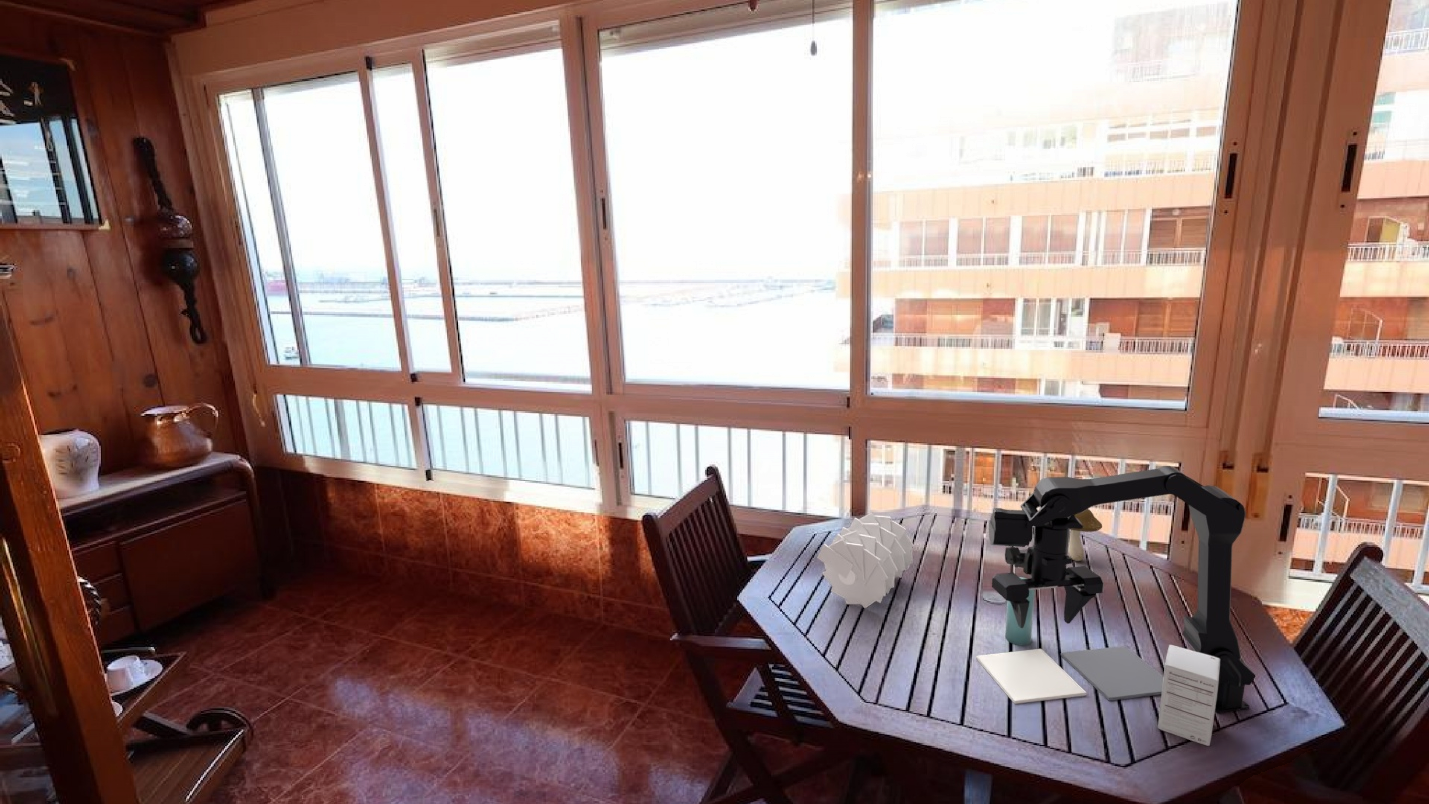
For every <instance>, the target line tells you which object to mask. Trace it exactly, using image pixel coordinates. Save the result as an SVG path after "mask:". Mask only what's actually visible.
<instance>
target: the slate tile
mask: <svg viewBox="0 0 1429 804" xmlns="http://www.w3.org/2000/svg"><path fill="white" fill-rule="evenodd" d="M1060 656H1061V658H1063V659H1064V661H1066V662H1067V663H1068V664H1069V665H1070V666H1071V667H1072V668H1074V669H1075V670H1076V671H1077V672H1078V674H1079V675H1081V676H1082V677H1083V678H1084V679H1085V680H1086V681H1087V682H1088V683H1090V684H1091V685H1092V686H1093V687H1094V688H1095V689H1096V691H1098V692H1099V693H1100V694H1102V696H1103V697H1104V698H1105V699H1107V700H1108V701H1115V700H1125V699H1126V700H1127V699H1132V698H1133V699H1134V698H1141V697H1149V696H1150V697H1151V696H1158V695H1162V686H1163V678H1164V675H1162V674H1161V673H1160V672H1159V671H1158V670H1156V669H1155V668H1154V667H1152V666H1151V665H1150V664H1149V663H1147V662H1146V660H1144V659H1142V657H1140V656H1138V655H1137V654H1136V653H1135V652H1134V651H1133V650H1131V649H1130V648H1129V647H1127V646H1126V645H1121V646H1120V645H1119V646H1113V647H1111V646H1110V647H1104V648H1103V647H1101V648H1094V649H1092V648H1091V649H1085V650H1084V649H1083V650H1075V651H1065V652H1061V653H1060Z"/></svg>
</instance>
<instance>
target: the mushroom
mask: <svg viewBox="0 0 1429 804" xmlns="http://www.w3.org/2000/svg"><path fill="white" fill-rule="evenodd" d="M1075 517H1076V518H1078V520H1079V521H1080V522H1081V524H1082V525H1083V529H1071V528H1070V533H1069V544H1068V556H1069V557H1071V558H1072V561H1075V562H1080V561H1083V559H1084V557H1085V552H1084V547H1083V544H1082V543H1083V542H1082V539H1081V532H1083V533H1084V532H1085V533H1093V532H1098V531H1100V530H1101V529H1102V528H1103V523H1102V522H1101V521H1099V519H1097V518H1096V516H1095V515H1094V513H1093V511H1092V510H1090V508H1089V509H1087V510H1085V511H1084V512H1082V513H1079V514H1076V515H1075Z"/></svg>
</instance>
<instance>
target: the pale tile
mask: <svg viewBox="0 0 1429 804" xmlns="http://www.w3.org/2000/svg"><path fill="white" fill-rule="evenodd" d="M975 659H976V661H978V662H979V664H980V665H981V666H982V667H983V668H984V670H985V671H987V673H988V674H989V675H990V676H991V678H992V679H993V681H995V683H996V684H997V685H998V686H999V687H1000V689H1002V691H1003V692H1004V693H1005V694H1006V695H1007V697H1008V698H1009V699H1010V700H1011V702H1012V703H1013V704H1024V703H1025V704H1026V703H1033V702H1042V701H1048V700H1049V701H1050V700H1057V699H1066V698H1074V697H1084V696H1087V691H1086V690H1084V689H1083V688H1082V687H1081V686H1080V685H1079V684H1078V683H1077V681H1076V680H1074V679H1073V678H1072V677H1071V676H1070V675H1069V674H1068V673H1067V672H1066V671H1065V670H1064V669H1063V668H1062V667H1061V666H1060V665H1059V664H1057V662H1056V661H1054V659H1053V658H1052V657H1050V656H1049V654H1047V653H1046V652H1045V651H1044V650H1043V649H1042V648H1037V649H1036V648H1035V649H1027V650H1018V651H1016V650H1015V651H1010V652H1001V653H998V652H997V653H992V654H990V653H989V654H982V655H981V654H980V655H976V656H975Z"/></svg>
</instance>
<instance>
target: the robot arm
mask: <svg viewBox="0 0 1429 804" xmlns="http://www.w3.org/2000/svg"><path fill="white" fill-rule="evenodd" d="M1167 495H1173V496H1174V497H1176V498H1178V499H1179V500H1181V501H1182V502H1184V503H1185V504H1187V505H1188V509H1189V513H1190V517H1191V521H1192V523H1193V526H1194V528H1195V531H1196V533H1197V536H1198V559H1197V560H1198V561H1197V564H1198V565H1197V566H1198V567H1197V568H1198V569H1197V607H1196V608H1197V609H1196V611H1195V613H1194V614H1193V615H1192V617H1191V616H1187V615H1185V616H1183V617H1182V620H1183V625H1184V628H1183V632H1182V636H1183V637H1184V639H1185V640H1186V641H1187V643H1188V645H1189V646H1190V647H1191V648H1192V650H1193V651H1196V652H1199V653H1203V654H1207V655H1210V656H1214V657H1217V658H1219V659H1220V669H1219V681H1218V691H1217V699H1216V706H1215V712H1216V713H1226V712H1228V713H1229V712H1235V711H1243V710H1250V705H1249V704H1248V703H1247V702H1245V701H1244V696H1245V695H1244V694H1245V689H1246V688H1245V687H1246V686H1250V685H1251V684H1252V683H1253V682H1254V680H1255V678H1256V674H1255V673H1254V672H1253V671H1252V669H1251V668H1249V666H1248V665H1247V664H1246V663H1245V662H1244V660H1242V655H1241V650H1240V649H1241V648H1240V645H1239V640H1238V637H1237V635H1236V632H1235V629H1234V627H1233V624H1232V621H1231V606H1232V605H1231V603H1232V601H1231V600H1232V597H1231V596H1232V570H1233V569H1232V568H1233V567H1232V565H1233V564H1232V562H1233V559H1232V558H1233V544H1234V543H1235V542H1236V540H1237V539H1238V538H1239V536H1240V535H1241V533H1242V531H1243V528H1244V523H1245V521H1246V520H1245V519H1246V516H1247V515H1246V508H1245V506H1244V505H1243V504H1242V503H1241V502H1240V501H1239V500H1238V499H1236V498H1235V497H1233V496H1231V495H1230V494H1228V493H1227V492H1226V491H1224V490H1223V489H1221V488H1220V487H1218V486H1216V485H1210V484H1209V485H1203V484H1201V483H1200V482H1198V481H1196V480H1195V479H1193V478H1191V477H1189V476H1188V475H1186V474H1184V473H1183V472H1181V471H1180V470H1179V469H1177V468H1176V467H1174V466H1171V465H1163V466H1160V467H1158V468H1153V469H1146V470H1140V471H1134V472H1127V473H1120V474H1119V473H1118V474H1114V475H1107V476H1100V477H1095V478H1093V477H1092V478H1077V477H1070V476H1048V477H1044V478H1042V479H1040V480H1039V481H1038V482H1037V484H1036V485H1035V486H1034V489H1033V492H1032V493H1031V494H1030V495H1029V496H1028V497H1027V498H1026V499H1025V500H1024V502H1022V503H1021V505H1020V508H1021V509H1006V508H1001V507H993V508H992V514H991V515H990V520H988V537H989V542H990V545H991V546H1001V547H1002V546H1003V547H1005V549H1004V561H1005V563H1006V564H1008V565H1012V566H1013V567H1014V568H1016V569H1017V568H1020V569H1021V568H1022V570H1023V571H1022V572H1023V573H1024V574H1026V575H1030V578H1027V579H1021V578H1019V577H1020V576H1018V575H1017V574H1016V573H1015V572H1002V573H996V574H994V575H993V576H992V578H991V588H992V589H994V590H995V591H996V593H998V594H999V595H1000V596H1001V597H1002V598H1003V599H1005V601H1006V602H1007V601H1010V603H1011V605H1012V608H1013V611H1014V614H1015V617H1016V620H1017V623H1018V626H1019V627H1020V628H1023V627H1024V625H1025V622H1026V617H1027V612H1028V608H1029V603H1030V601H1028V600H1027V599H1026V598H1027V597H1029V590H1035V591H1036V590H1045V589H1046V590H1047V589H1054V588H1060V587H1063V588H1064V590H1065V598H1064V599H1065V600H1064V609H1063V610H1064V611H1063V621H1064V622H1065V623H1066V624H1071V623H1072V621H1074V619H1075V617H1076V616H1077V615H1078V613H1080V611H1081V610H1082V609H1083V608H1084V607H1085V606H1086V604H1088V603H1089V602H1090V601H1091V600H1092V599H1094V598H1096V597H1097V594H1103V592H1104V589H1105V588H1104V586H1105V582H1104V580H1103V578H1102V577H1101V576H1100V575H1098V574H1097V573H1095V572H1094V571H1092V570H1091V569H1090V568H1088V567H1087V566H1085V565H1079V566H1071V567H1070V566H1069V567H1067V565H1071V564H1072V563H1073V559H1072V558H1071V557H1070V556H1069V541H1070V533H1071V530H1070V528H1071V529H1083V525H1082V524H1081V522H1080V521H1079V520H1078V518H1076V517H1075V515H1076V514H1079V513H1082V512H1084V511H1085V510H1087V509H1089V510H1090V508H1092V507H1095V506H1100V505H1105V504H1111V503H1112V504H1113V503H1118V502H1126V501H1132V500H1139V499H1140V500H1141V499H1146V498H1152V497H1161V496H1167ZM1038 508H1040V509H1039V510H1038ZM1031 542H1032V546H1029V545H1030V543H1031ZM1026 546H1027V547H1028V548H1027V549H1019V548H1025V547H1026Z"/></svg>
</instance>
